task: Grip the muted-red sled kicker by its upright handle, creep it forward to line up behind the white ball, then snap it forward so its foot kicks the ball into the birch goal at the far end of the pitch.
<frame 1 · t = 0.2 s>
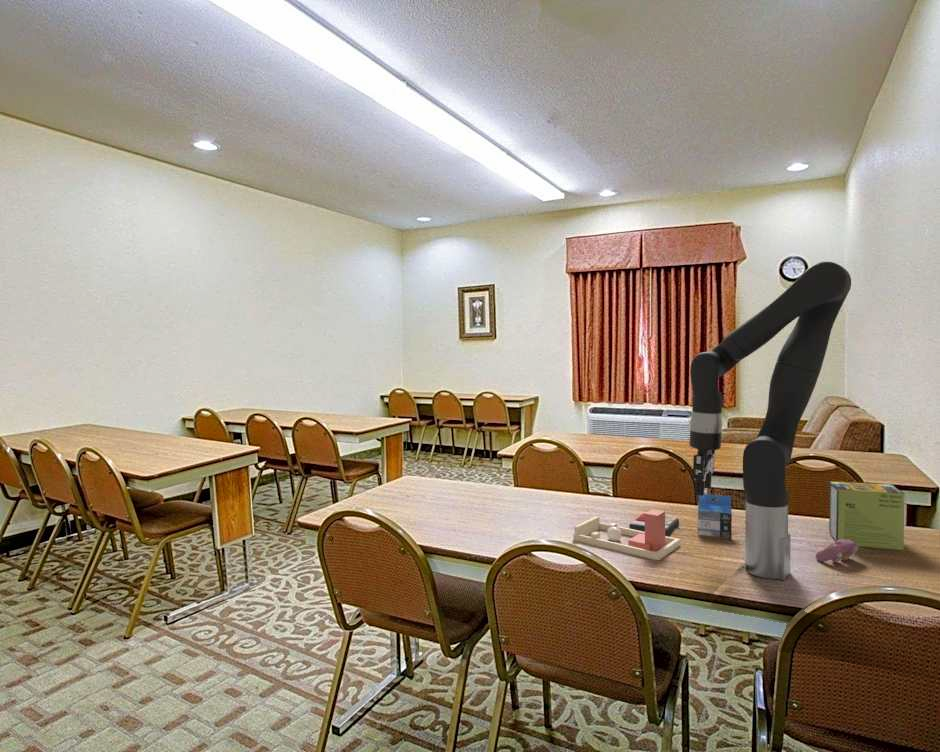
hand: (702, 491, 148), 18 cm above the table, tool pointing down, fingers open, 8 cm apart
calculator: (654, 533, 172), on the table
protein box: (864, 542, 159), on the table
ball: (614, 534, 161), point 3 cm above the table, touching pitch
kicker: (647, 529, 154), point 6 cm above the table, slide at 0.0 cm
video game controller: (837, 561, 146), on the table
pitch: (625, 547, 159), on the table
label tape cartridge: (714, 539, 164), on the table
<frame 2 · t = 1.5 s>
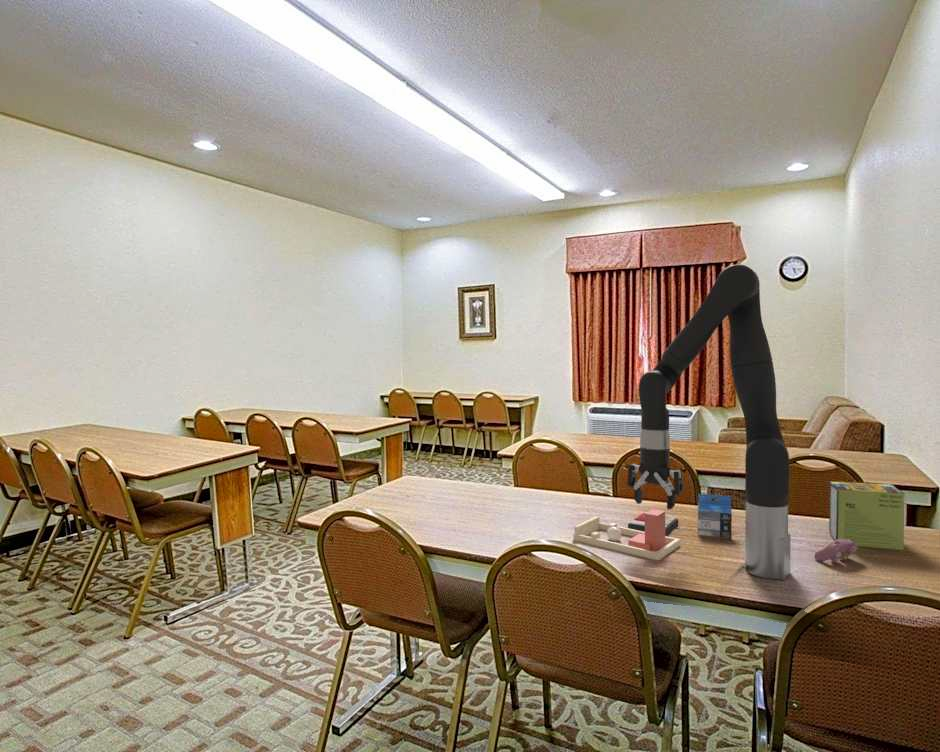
hand: (654, 505, 152), 13 cm above the table, tool pointing down, fingers open, 8 cm apart
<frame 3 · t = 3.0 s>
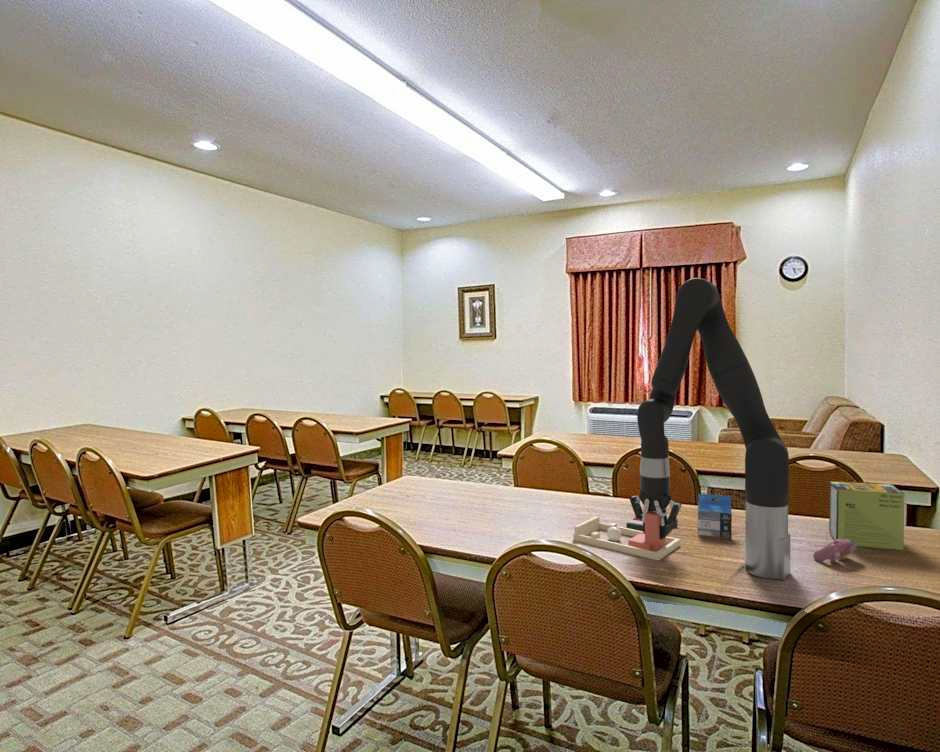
hand: (655, 536, 153), 5 cm above the table, tool pointing down, fingers closed on kicker, 3 cm apart
kicker: (647, 529, 154), point 6 cm above the table, slide at 0.0 cm, touching gripper
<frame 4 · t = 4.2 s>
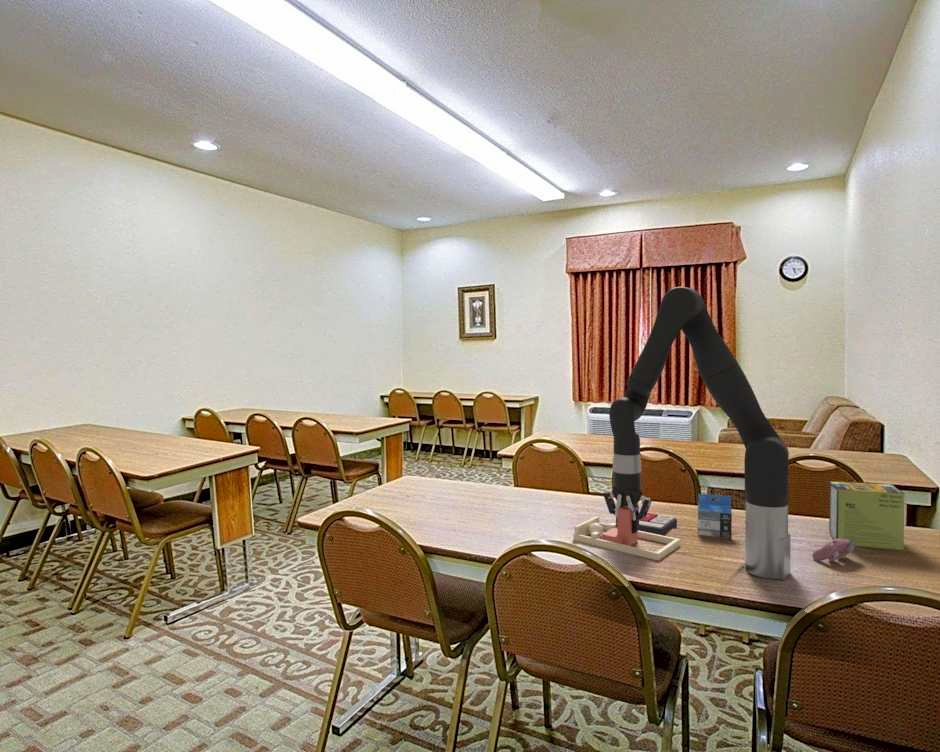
hand: (627, 530, 158), 5 cm above the table, tool pointing down, fingers closed on kicker, 3 cm apart
ball: (595, 530, 165), point 3 cm above the table, tilted 152°, touching pitch
kicker: (620, 523, 159), point 6 cm above the table, slide at 7.9 cm, touching gripper
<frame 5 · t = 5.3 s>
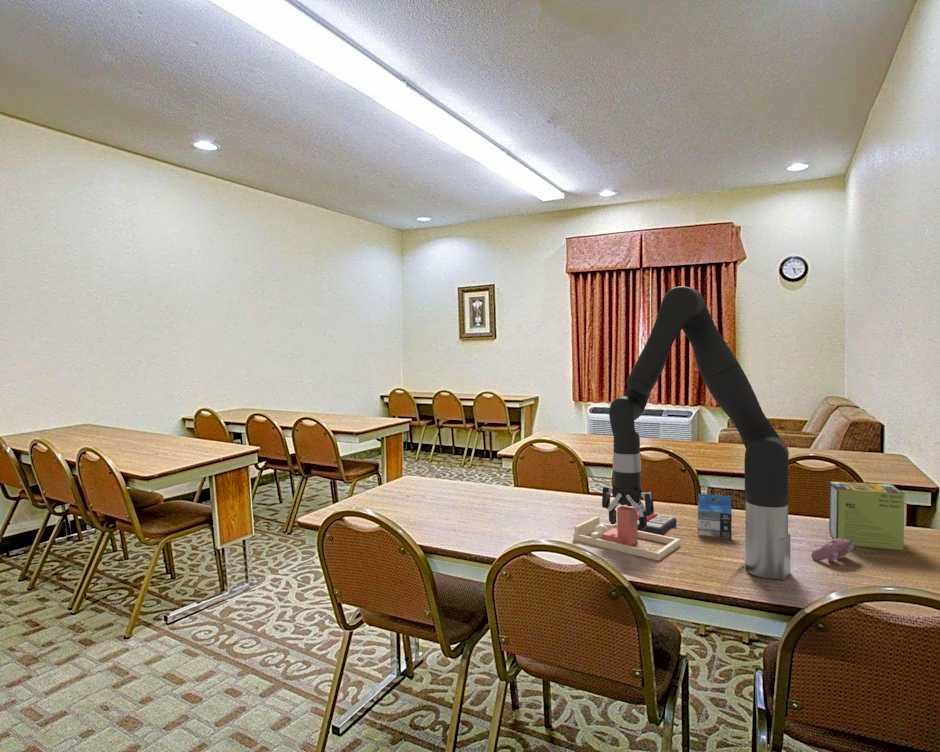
hand: (627, 526, 158), 6 cm above the table, tool pointing down, fingers open, 8 cm apart
ball: (601, 531, 164), point 3 cm above the table, tilted 103°, touching pitch
kicker: (620, 523, 159), point 6 cm above the table, slide at 7.9 cm
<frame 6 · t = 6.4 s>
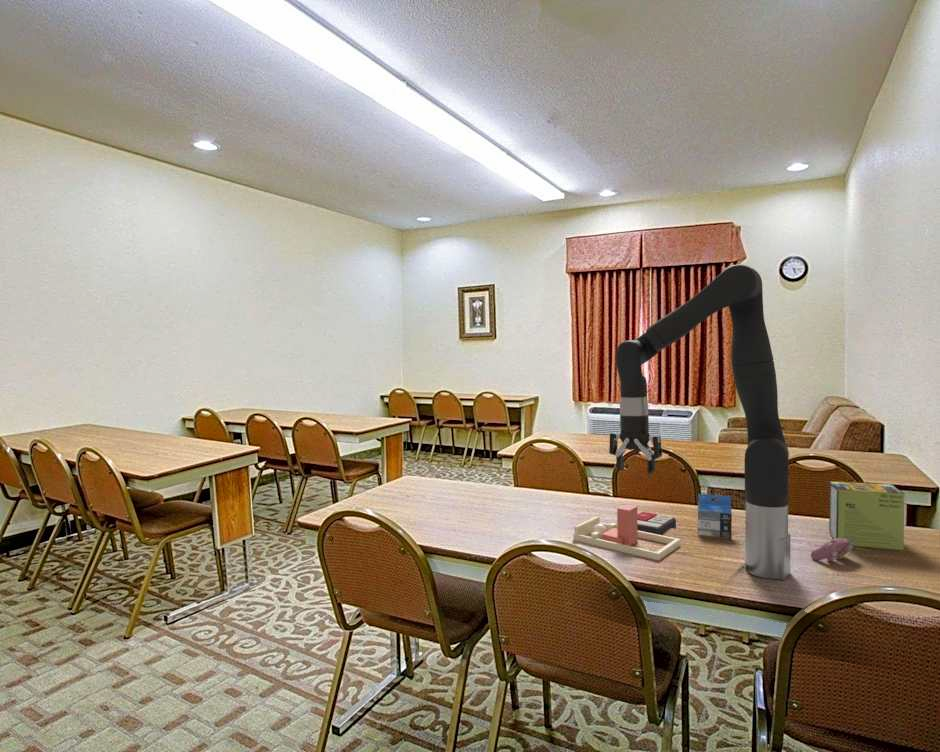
hand: (635, 471, 157), 21 cm above the table, tool pointing down, fingers open, 8 cm apart
ball: (599, 530, 164), point 3 cm above the table, tilted 116°, touching pitch
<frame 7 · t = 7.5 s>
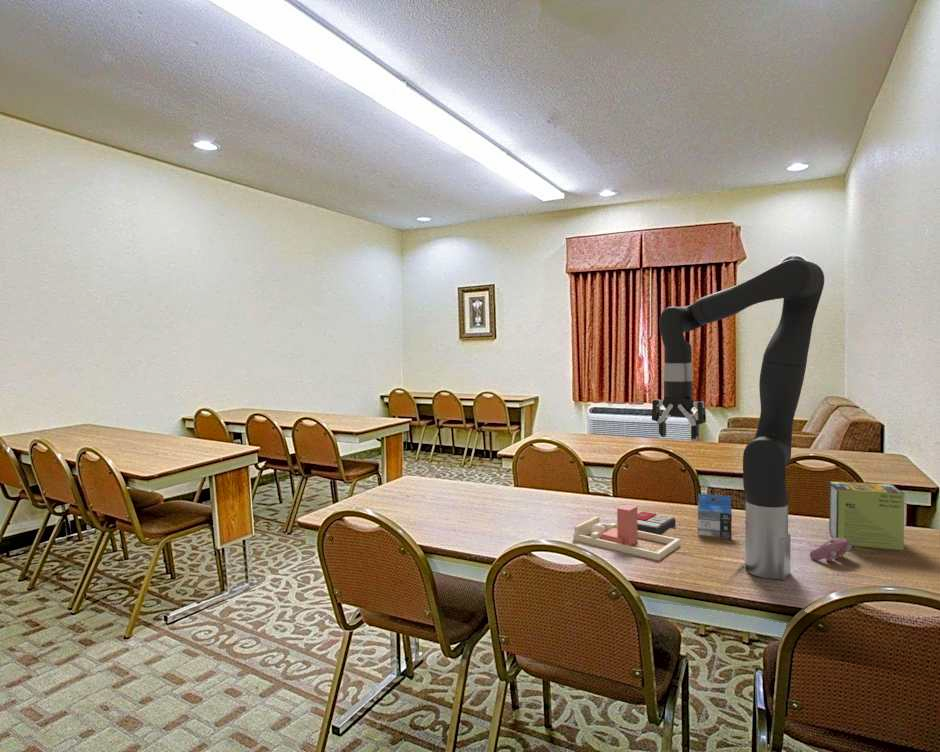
hand: (678, 437, 158), 30 cm above the table, tool pointing down, fingers open, 8 cm apart
ball: (598, 530, 164), point 3 cm above the table, tilted 129°, touching pitch
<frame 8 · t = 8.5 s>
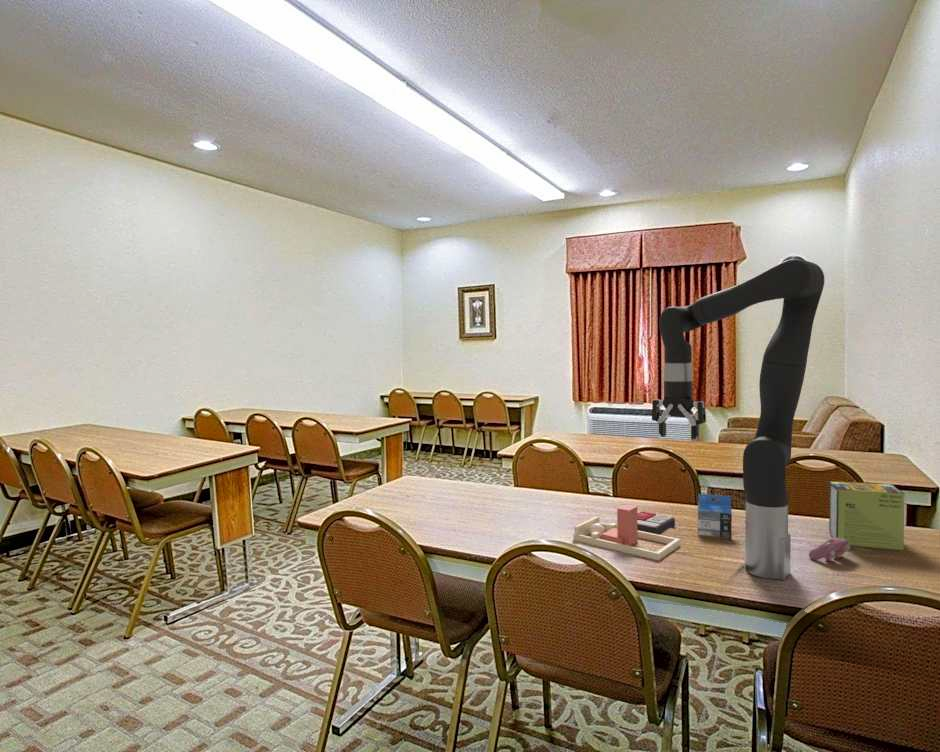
hand: (678, 437, 158), 30 cm above the table, tool pointing down, fingers open, 8 cm apart
ball: (597, 530, 164), point 3 cm above the table, tilted 141°, touching pitch
at the end: ball inside the target area (1.0 cm from its centre), point 3.0 cm above the table; kicker slide at 7.9 cm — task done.
